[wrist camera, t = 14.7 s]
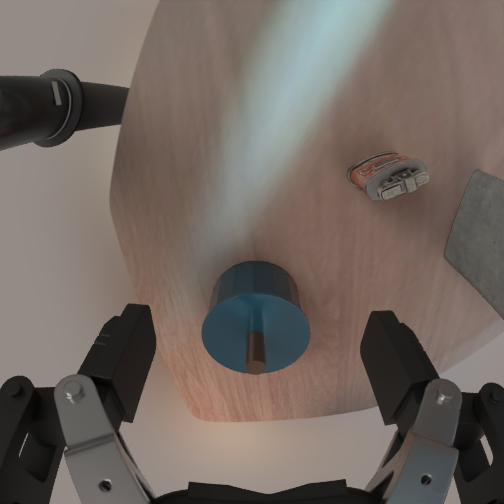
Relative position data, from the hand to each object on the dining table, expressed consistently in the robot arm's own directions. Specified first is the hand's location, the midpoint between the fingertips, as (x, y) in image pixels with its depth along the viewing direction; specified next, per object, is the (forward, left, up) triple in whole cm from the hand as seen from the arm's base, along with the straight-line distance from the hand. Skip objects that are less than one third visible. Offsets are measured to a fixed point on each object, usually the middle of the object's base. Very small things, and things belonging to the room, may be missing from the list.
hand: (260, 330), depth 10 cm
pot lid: (+9, -16, -20) cm, 27 cm away
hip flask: (+30, +13, -29) cm, 44 cm away
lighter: (+12, +9, -29) cm, 33 cm away
